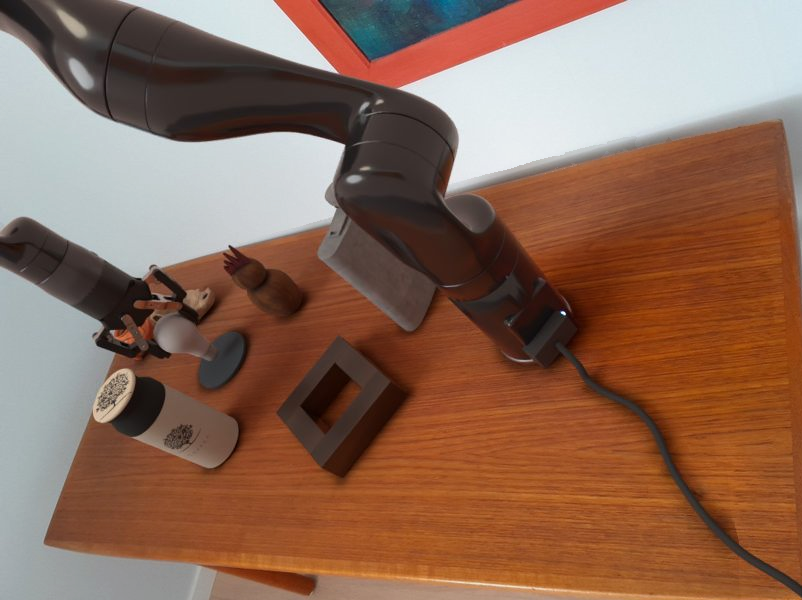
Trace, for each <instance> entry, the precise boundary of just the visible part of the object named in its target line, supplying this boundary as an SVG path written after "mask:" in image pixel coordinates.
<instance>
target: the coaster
mask: <svg viewBox="0 0 802 600" xmlns="http://www.w3.org/2000/svg"><path fill="white" fill-rule="evenodd" d="M211 343H212V344H213V345H215V346H216V347H217V348H218V356H217V358H215V359H214V360H212V361H208V360H206V359H204V358H202V357H201V361H200V363H199V367H198V380H199V383H200V384H201V386H203V387H204V388H207V389H210V390H215V389H219V388H221V387H223V386H225V385H226V384H228V383H229V382H230V381H231V380H232V379H233V378H234V377H235V376H236V375H237V373H238V372H239V370H240V369H241V367H242V365H243V363H244V361H245V359H246V354H247V347H248V346H247V345H248V344H247V340H246V338H245V336H244V335H242V334H241V333H240V332H237V331H228V332H226V333H223V334H222V335H220V336H218V337H217V338H216V339H214V341H213V342H211Z"/></svg>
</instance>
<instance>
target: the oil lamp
mask: <svg viewBox="0 0 802 600" xmlns="http://www.w3.org/2000/svg"><path fill="white" fill-rule="evenodd" d="M185 291H186V293H187V296H186V297H185V298H184V300H183V303H185V304H187V305H188V306H190V307H191V308H193V309H195V311H196V312H197V313H198V314H199V317H198V318H199V319H200V320H201V319H202V318H203V317H204V316H205V314H207V313H208V311H210V309H211V308H212V307H213V306H214V304H215V301H216V297H215V294H214V292H213V291H212V289H210V288H209V287H206V289H205V290H204V291H202V290H201V288H199V287H198V288H196V289H187V290H185ZM154 310H155V311H154V312H153V313H152V314H151V315H150V316H149V317H150V319H151V321H152V322H154V323H155V324H156V323H157V322H158V320H159V319H160V318H161V317H163V316H165V315H167V314H170V313H178V312H177V310H172V309H165V310H157V309H154ZM194 323H195V322H194ZM195 324H196V323H195Z"/></svg>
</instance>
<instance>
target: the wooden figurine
mask: <svg viewBox="0 0 802 600" xmlns="http://www.w3.org/2000/svg"><path fill="white" fill-rule="evenodd" d="M227 247H228V249H229V250H230V252H232V254H233V255H234V256H232V255H231V254H229V253H226V252H222V255H223V256H224V257H225V258H226V259H223V263H224V265H223V269H224V270H225V271H226V273H227V274H228V275H229V276H230V277H231V280H232V281H233V282H234V284H235V285H236V286H237V287H238V288H240V289H242V290H244V291H246V296H247V298H249V301H250V302H251V303H252V304H253V305H254V306H255V307H256V308H257V309H258V310H260V311H261V312H264V313H266V314H269V315H274V316H277V317H286V316H290V315H292V314H294V313H295V312H296V311H297V310H298V309H299V308H300V307H301V305H302V301H303V295H302V291H301V289H300V287H299V286H298V284H297V283H296V282H295V281H294V279H293V278H292V277H291V276H290V275H289V274H287V273H286V272H284V271H283V270H281V269H277V268H266V267H265V266H264V264H263V263H262V262H260V261H259V260H258V259H256V258H253V257H248V256H246V255H245V254H243V253H242V252H241V251H239V250H238V249H236V248H235V247H234V246H232V245H231V244H228V245H227Z"/></svg>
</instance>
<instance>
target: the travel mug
mask: <svg viewBox="0 0 802 600" xmlns="http://www.w3.org/2000/svg"><path fill="white" fill-rule="evenodd" d="M92 415H93V418H94V420H95V422H98V423H100V424H105V423H108V424H111V425H112V427H113V429H114V430H115V431H116V432H117V433H120V434H122V435H124V436H126V437H129V438H132V439H134V440H137V441H139V442H141V443H144V444H146V445H149V446H152V447H154V448H156V449H159V450H161V451H163V452H166V453H169V454H171V455H174V456H176V457H178V458H182V459H183V460H186V461H188V462H191V463H193V464H196V465H198V466H201V467H204V468H206V469H214V468H216V467H218V466H220V465H221V464H222V463H224V462H225V461H226V460H227V459H228V458H229V457H230V456H231V454H232V452H233V451H234V448H235V447H236V444H237V441H238V439H239V424H238V421H237V420H236V418H234V417H232V416H231V415H228V414H226V413H224V412H222V411H220V410H218V409H216V408H214V407H212V406H210V405H208V404H206V403H204V402H202V401H200V400H197V399H196V398H193V396H192V397H191V396H189V395H188V394H185V393H183V392H181V391H180V390H177V389H175V388H173V387H171V386H169V385H167V384H166V383H163V382H161V381H159V380H157V379H155V378H153V377H151V376H137V375H136V374H135V372H134V371H133V370H132V369H131V368H128V367H127V368H125V367H124V368H121V369H118V370H117V371H115V372H114V373H112V374H111V375H110V376H109V377H108V378H107V379H106V380H105V381H104V383H103V384H102V386H101V387H100V389H99V390H98V392H97V394H96V397H95V399H94V403H93V406H92Z"/></svg>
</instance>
